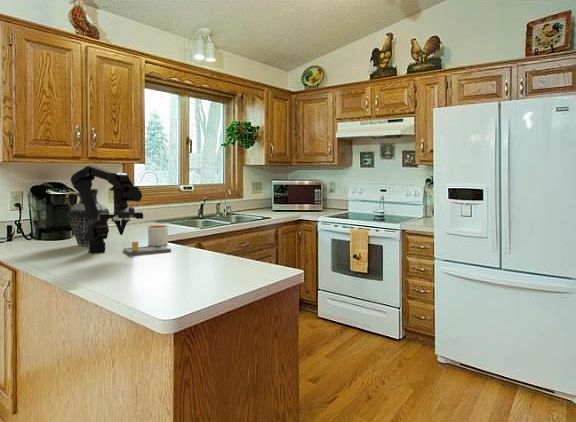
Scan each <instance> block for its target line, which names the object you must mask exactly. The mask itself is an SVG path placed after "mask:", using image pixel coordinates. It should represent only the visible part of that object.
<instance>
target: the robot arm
mask: <svg viewBox="0 0 576 422" xmlns="http://www.w3.org/2000/svg"><path fill="white" fill-rule="evenodd" d="M95 178H99V179H101V180H102V179H103V180H105V181H107V182H108V183H109V185H111V186H112V187H111V188H109V191H111V192H113V214H110V213H109V214H108V213H99V212H98V210H97V207H96V204H95V201H94V198H93V195H92V192H91V189H92V186H93V180H95ZM70 182H71V185H72V187H73V188H74V189H75V190H76V192H79V193H80V195H81V198H82V201H83V204H84V207H85V210H86V213H87V216H88V219H89V223H88V232H87V233H86V234H85V236H84V238H85V241H88V243H89V246H88V251H87V253H88V254H89V255H93V254H104V253H106V241H104V240H107V239H108V236H109V231H110V229H109V228H110V226H109V225H108V222H107V221H106V220H110V219H111V220H110V221H111V222H113V223H114V225H115V227H116V228H117V231H118V234H119V235H121V236H123V234H124V232H125V229H126V227H127V226H126V225H127V224H128V223H129V222H131V218H134V219H136V220H140V219H141V220H142V219H144V213H143V212H140V211H135V207H134V206H129V205H128V202H132V203H133V202H136V203H137V202H140V201H141V200H142V198H143V194H142V191H141V189H139V186H136V185H135V186H134V184H133V182H132V181H131V179H130V177H129V175H128V174H127V173H124V172H112V171H110V170H107V169H105V168H100V167H98V166H95V165H86V166H85V167H83V169H80V170H78V171H76V172H75V173H74V174H72V175H71V177H70Z"/></svg>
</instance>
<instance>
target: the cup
mask: <svg viewBox="0 0 576 422" xmlns="http://www.w3.org/2000/svg"><path fill="white" fill-rule="evenodd" d="M147 237H148V238H147V239H148V240H147V241H148V242H147V245H148V246H156V237H161V238H162V245H164V246H167V245H168V244H169V227H168V225H149V226H148V227H147Z"/></svg>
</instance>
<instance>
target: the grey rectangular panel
mask: <svg viewBox="0 0 576 422" xmlns="http://www.w3.org/2000/svg"><path fill="white" fill-rule="evenodd" d="M171 251H172V248H170V247H168V246H167V245H165V246H164V245H161V246H150V245H148V246H138V250H137V251H133V250H132V247H127V248H126V247H124V248H123V252H124V253H125V254H127V256H130V257H132V256H142V255H153V254H163V253H171Z"/></svg>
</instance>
